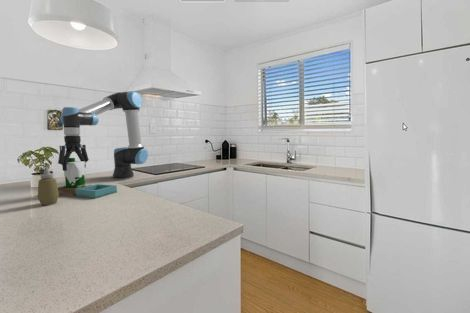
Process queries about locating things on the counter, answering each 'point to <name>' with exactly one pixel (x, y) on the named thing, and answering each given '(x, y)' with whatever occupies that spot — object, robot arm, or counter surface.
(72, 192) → the dock
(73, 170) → the soya milk
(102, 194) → the tray
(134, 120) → the robot arm
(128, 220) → the counter surface
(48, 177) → the squeeze bottle
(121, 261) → the counter surface
